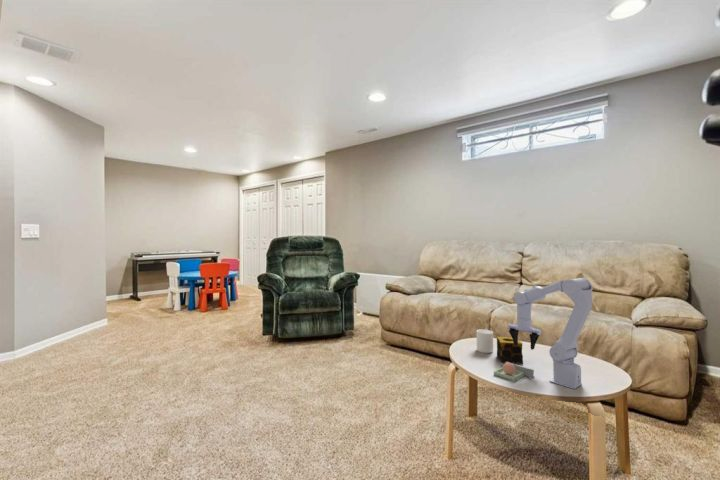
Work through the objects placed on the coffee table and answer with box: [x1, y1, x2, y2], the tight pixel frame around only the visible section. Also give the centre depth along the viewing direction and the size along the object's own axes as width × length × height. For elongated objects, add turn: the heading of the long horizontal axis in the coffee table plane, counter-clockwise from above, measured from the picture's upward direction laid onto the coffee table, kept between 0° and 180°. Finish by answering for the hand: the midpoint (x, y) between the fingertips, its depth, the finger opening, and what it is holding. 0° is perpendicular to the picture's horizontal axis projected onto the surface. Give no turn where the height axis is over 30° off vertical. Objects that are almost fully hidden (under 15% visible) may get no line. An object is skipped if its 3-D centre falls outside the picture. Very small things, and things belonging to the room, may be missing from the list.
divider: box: [506, 362, 535, 380], centre depth 149 cm, size 12×2×4 cm, turn 39°
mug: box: [476, 328, 494, 354], centre depth 181 cm, size 12×8×10 cm
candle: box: [496, 336, 524, 365], centre depth 166 cm, size 10×10×10 cm
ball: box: [502, 363, 515, 375], centre depth 147 cm, size 5×5×5 cm
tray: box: [493, 366, 525, 382], centre depth 147 cm, size 9×9×2 cm
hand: (524, 347), depth 156 cm, fingers open, 7 cm apart
